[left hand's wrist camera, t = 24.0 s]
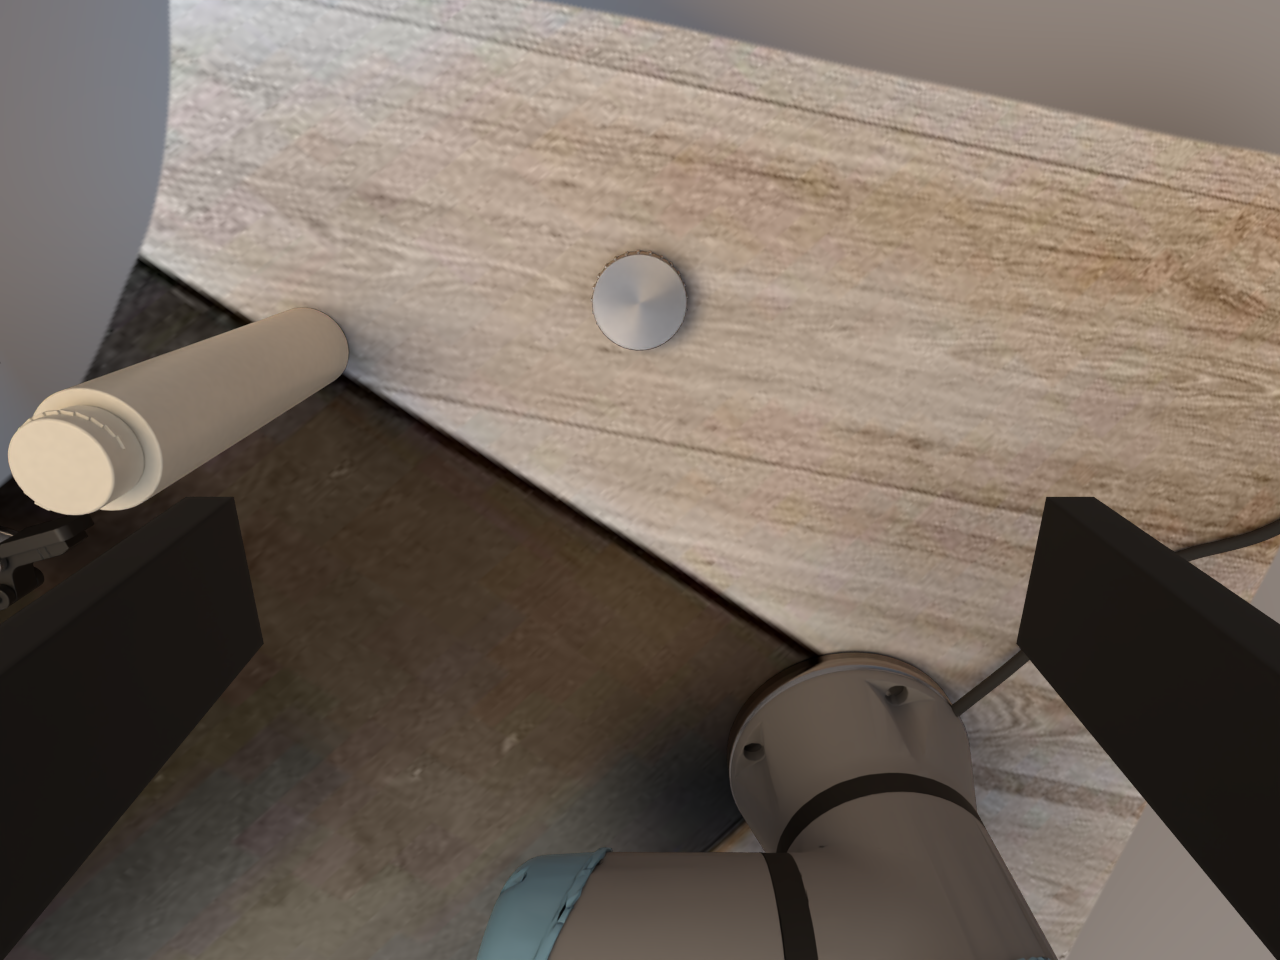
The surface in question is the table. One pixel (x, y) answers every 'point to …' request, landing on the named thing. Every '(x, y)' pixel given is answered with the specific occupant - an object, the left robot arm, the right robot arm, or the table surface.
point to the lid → (639, 300)
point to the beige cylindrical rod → (171, 412)
